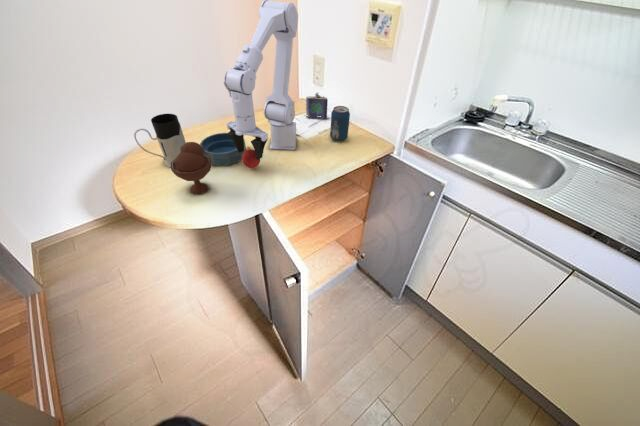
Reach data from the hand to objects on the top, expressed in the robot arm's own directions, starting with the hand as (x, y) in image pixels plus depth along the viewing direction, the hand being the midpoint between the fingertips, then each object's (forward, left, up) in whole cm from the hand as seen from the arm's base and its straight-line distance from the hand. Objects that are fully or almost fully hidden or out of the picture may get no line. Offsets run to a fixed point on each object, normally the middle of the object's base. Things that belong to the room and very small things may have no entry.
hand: (250, 154), depth 94 cm
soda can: (-30, -23, -6) cm, 38 cm away
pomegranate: (0, 0, -6) cm, 6 cm away
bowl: (+11, -8, -5) cm, 15 cm away
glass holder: (+28, -2, -6) cm, 29 cm away
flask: (-21, -42, -6) cm, 47 cm away
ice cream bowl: (+14, +12, -6) cm, 19 cm away
